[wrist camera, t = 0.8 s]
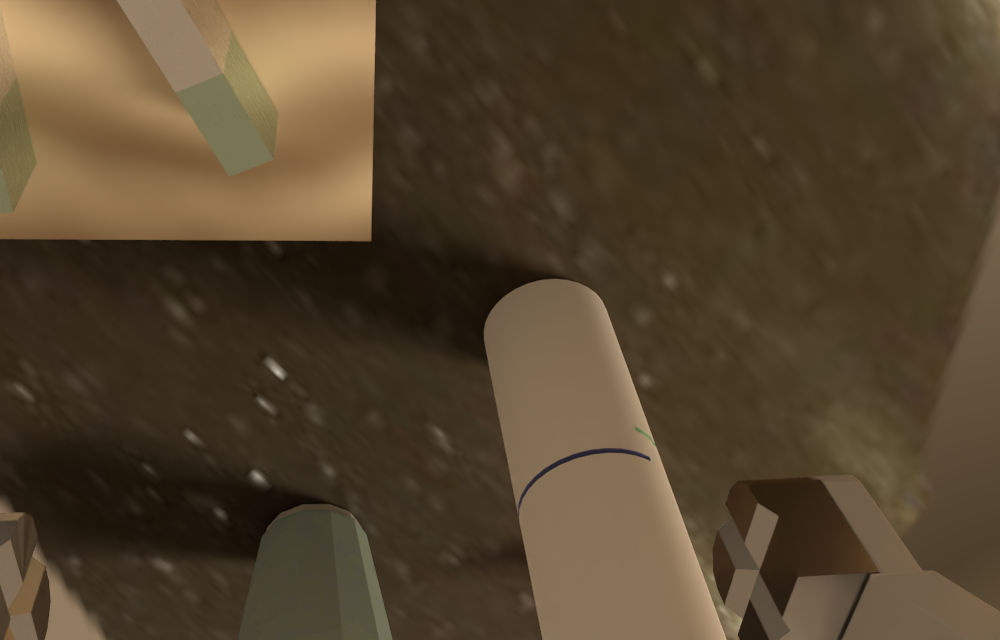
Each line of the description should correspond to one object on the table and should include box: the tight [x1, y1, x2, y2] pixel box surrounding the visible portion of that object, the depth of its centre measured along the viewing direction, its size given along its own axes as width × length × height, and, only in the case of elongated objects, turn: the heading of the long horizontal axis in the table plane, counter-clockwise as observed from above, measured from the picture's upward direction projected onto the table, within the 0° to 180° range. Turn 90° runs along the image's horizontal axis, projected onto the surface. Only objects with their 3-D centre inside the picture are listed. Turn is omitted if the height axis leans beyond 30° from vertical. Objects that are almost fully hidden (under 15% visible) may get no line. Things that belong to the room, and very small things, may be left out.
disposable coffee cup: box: [238, 504, 392, 640], centre depth 56 cm, size 11×11×15 cm
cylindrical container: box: [484, 279, 726, 640], centre depth 43 cm, size 7×7×25 cm
